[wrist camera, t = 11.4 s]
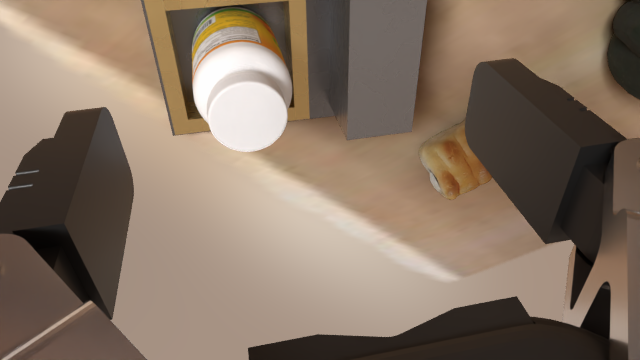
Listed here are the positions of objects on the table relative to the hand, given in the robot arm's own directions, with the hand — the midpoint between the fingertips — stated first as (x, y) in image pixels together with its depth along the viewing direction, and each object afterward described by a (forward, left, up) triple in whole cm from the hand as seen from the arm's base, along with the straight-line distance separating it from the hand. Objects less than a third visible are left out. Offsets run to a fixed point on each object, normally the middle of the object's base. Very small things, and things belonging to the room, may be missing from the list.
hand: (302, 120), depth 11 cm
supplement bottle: (+1, +7, -22) cm, 23 cm away
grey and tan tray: (-2, +7, -23) cm, 24 cm away
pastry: (-18, +18, -24) cm, 35 cm away
